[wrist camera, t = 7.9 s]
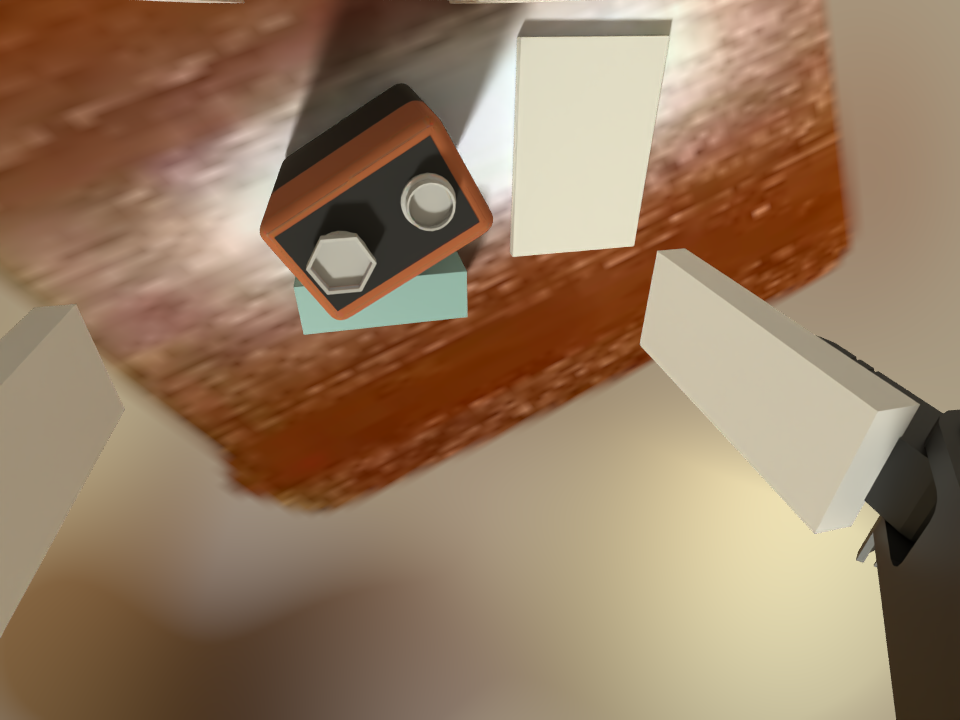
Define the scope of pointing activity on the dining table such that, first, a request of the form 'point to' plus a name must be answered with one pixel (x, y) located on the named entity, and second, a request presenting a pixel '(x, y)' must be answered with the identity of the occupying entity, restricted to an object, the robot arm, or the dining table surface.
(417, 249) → the battery
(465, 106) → the dining table surface
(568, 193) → the mat
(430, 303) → the block
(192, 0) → the white u-shaped bracket
